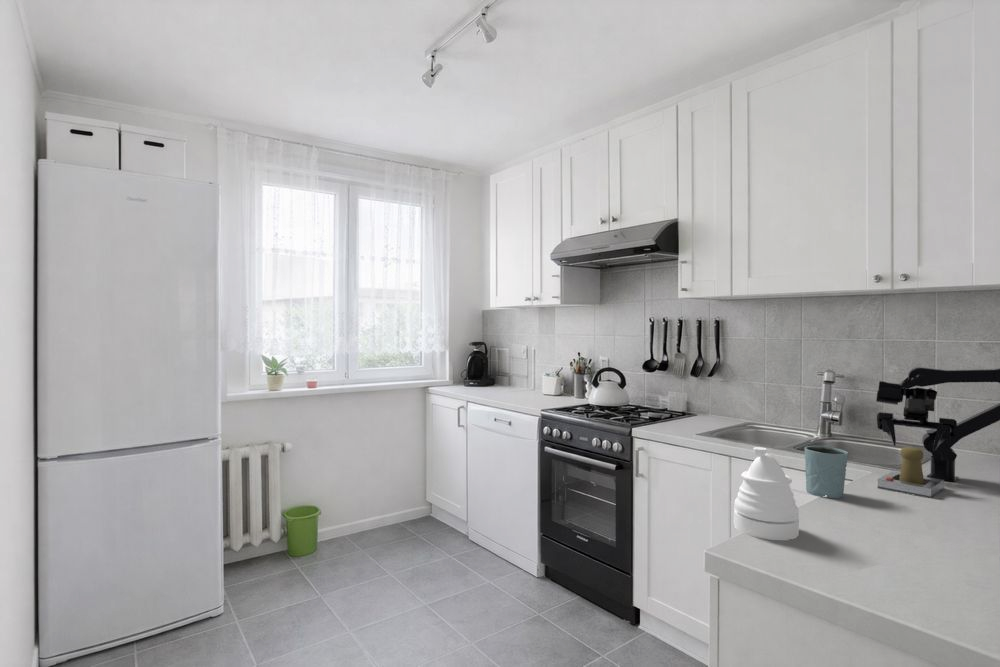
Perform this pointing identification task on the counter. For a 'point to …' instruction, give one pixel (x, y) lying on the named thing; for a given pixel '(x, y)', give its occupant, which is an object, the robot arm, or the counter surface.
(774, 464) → the honey pot
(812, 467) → the teal cup
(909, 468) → the cork
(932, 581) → the counter surface
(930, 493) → the socket plate
